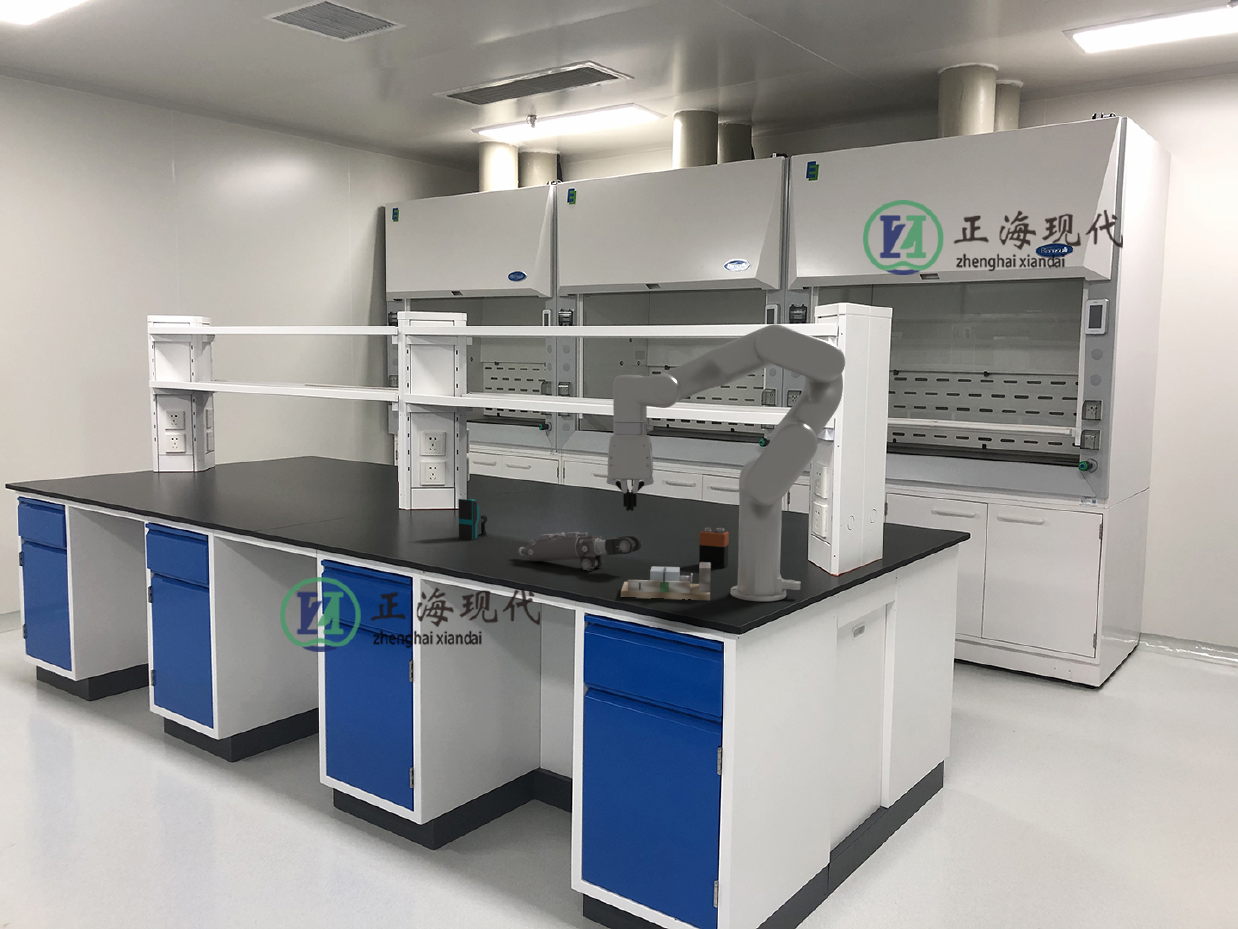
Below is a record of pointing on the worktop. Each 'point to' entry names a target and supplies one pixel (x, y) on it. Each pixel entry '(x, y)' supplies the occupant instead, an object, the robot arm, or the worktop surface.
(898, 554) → the worktop surface
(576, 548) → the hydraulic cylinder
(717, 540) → the battery
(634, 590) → the gauge stand
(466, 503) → the black teal case
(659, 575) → the force gauge
